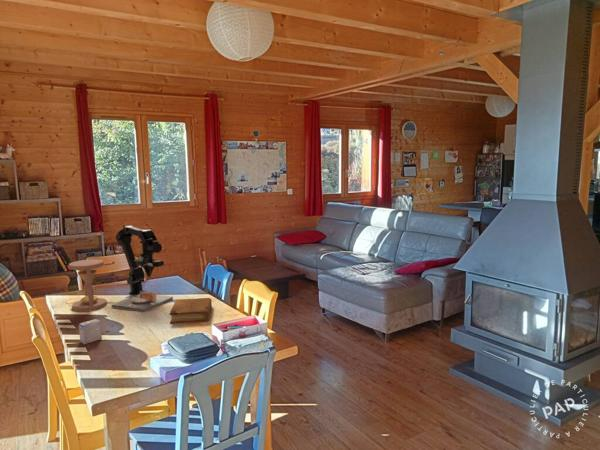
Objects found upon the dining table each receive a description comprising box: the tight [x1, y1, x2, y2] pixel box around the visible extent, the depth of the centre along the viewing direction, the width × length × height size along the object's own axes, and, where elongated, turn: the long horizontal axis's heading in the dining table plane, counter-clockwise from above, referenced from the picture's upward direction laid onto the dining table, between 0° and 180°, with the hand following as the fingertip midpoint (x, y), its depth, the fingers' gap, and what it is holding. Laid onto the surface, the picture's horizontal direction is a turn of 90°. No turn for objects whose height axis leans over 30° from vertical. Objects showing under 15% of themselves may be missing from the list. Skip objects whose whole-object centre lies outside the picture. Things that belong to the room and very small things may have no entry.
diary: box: [169, 297, 213, 325], centre depth 228 cm, size 23×19×6 cm
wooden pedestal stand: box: [68, 258, 108, 312], centre depth 243 cm, size 18×18×25 cm
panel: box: [111, 293, 174, 313], centre depth 249 cm, size 23×23×2 cm
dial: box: [131, 290, 157, 304], centre depth 247 cm, size 17×12×5 cm
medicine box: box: [78, 318, 103, 345], centre depth 196 cm, size 8×4×9 cm, turn 141°
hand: (149, 276), depth 260 cm, fingers closed
